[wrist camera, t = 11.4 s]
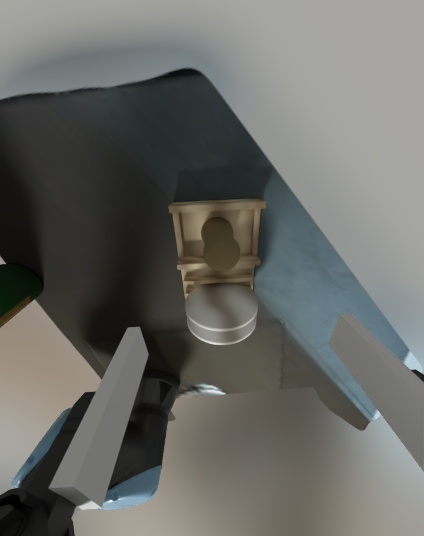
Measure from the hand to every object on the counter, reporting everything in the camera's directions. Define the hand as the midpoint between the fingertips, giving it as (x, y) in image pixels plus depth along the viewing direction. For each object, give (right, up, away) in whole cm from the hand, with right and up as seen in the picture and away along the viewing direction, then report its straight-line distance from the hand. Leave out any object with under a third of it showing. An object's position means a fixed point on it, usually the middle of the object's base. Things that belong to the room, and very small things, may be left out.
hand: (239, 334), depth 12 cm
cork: (-1, +11, +21) cm, 24 cm away
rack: (-1, +7, +24) cm, 25 cm away
